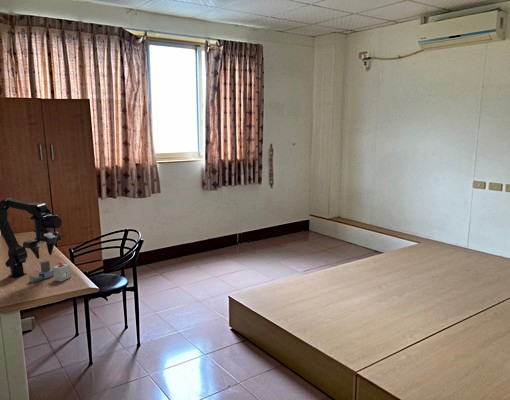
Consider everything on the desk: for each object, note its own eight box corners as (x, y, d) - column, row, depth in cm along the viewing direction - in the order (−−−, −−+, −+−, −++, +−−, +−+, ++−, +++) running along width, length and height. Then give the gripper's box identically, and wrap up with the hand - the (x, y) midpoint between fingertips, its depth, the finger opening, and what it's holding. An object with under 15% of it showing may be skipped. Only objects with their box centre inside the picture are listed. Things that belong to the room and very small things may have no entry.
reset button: (58, 269, 223) (57, 262, 222) (61, 268, 225) (61, 261, 224) (61, 269, 222) (60, 263, 221) (64, 268, 224) (63, 261, 223)
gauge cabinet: (54, 280, 223) (52, 267, 222) (64, 276, 228) (62, 263, 227) (61, 281, 220) (60, 268, 219) (71, 277, 226) (70, 264, 224)
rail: (29, 281, 221) (29, 276, 220) (51, 273, 232) (51, 268, 232) (33, 282, 219) (33, 277, 219) (55, 274, 231) (55, 269, 230)
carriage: (38, 277, 227) (37, 262, 225) (47, 274, 231) (45, 259, 230) (45, 278, 224) (43, 263, 223) (53, 275, 229) (52, 260, 227)
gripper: (35, 233, 211) (38, 264, 214) (67, 225, 228) (69, 253, 230) (20, 231, 216) (24, 261, 219) (52, 223, 233) (55, 251, 235)
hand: (44, 256), depth 226 cm, fingers open, 7 cm apart
